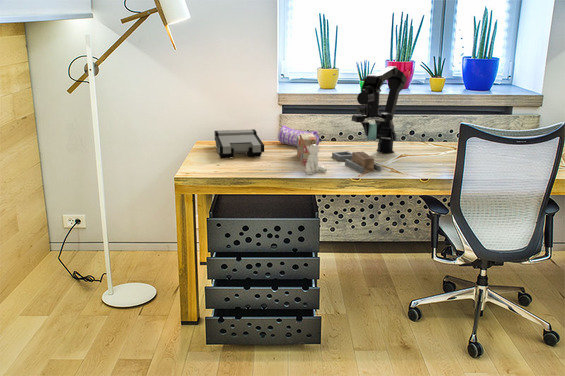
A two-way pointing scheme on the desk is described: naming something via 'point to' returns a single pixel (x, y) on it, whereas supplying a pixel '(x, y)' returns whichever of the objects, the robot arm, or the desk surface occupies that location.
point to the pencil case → (293, 135)
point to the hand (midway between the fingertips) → (371, 135)
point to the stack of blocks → (301, 145)
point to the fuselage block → (363, 161)
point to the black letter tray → (238, 143)
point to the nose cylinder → (372, 131)
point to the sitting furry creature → (314, 161)
